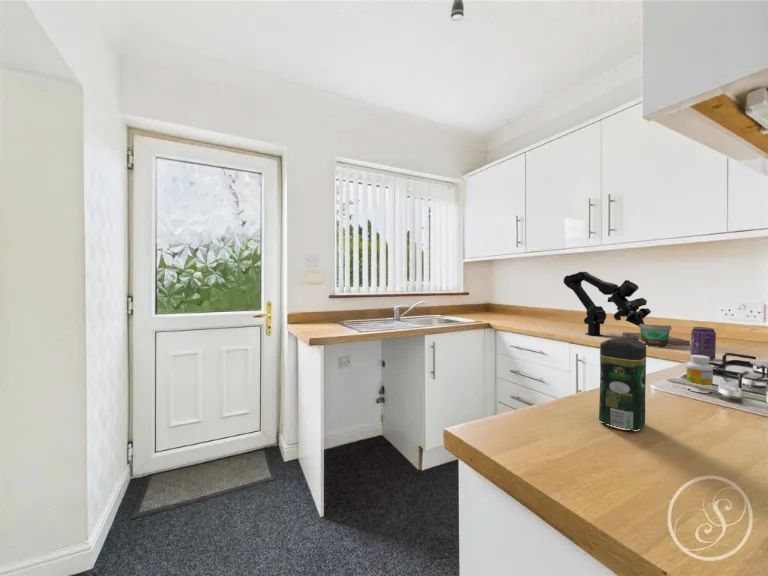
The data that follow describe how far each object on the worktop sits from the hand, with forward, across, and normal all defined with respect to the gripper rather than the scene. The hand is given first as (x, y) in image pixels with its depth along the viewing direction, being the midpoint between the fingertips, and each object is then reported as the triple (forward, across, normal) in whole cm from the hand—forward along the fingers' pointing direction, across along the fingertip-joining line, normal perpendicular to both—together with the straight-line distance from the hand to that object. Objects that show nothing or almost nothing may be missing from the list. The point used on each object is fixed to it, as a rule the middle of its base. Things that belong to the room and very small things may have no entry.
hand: (644, 327), depth 163 cm
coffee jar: (+50, -98, -38) cm, 116 cm away
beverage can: (+26, -8, -14) cm, 30 cm away
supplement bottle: (+44, -56, -32) cm, 78 cm away
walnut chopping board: (+1, +15, +10) cm, 18 cm away
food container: (+9, 0, +2) cm, 10 cm away
